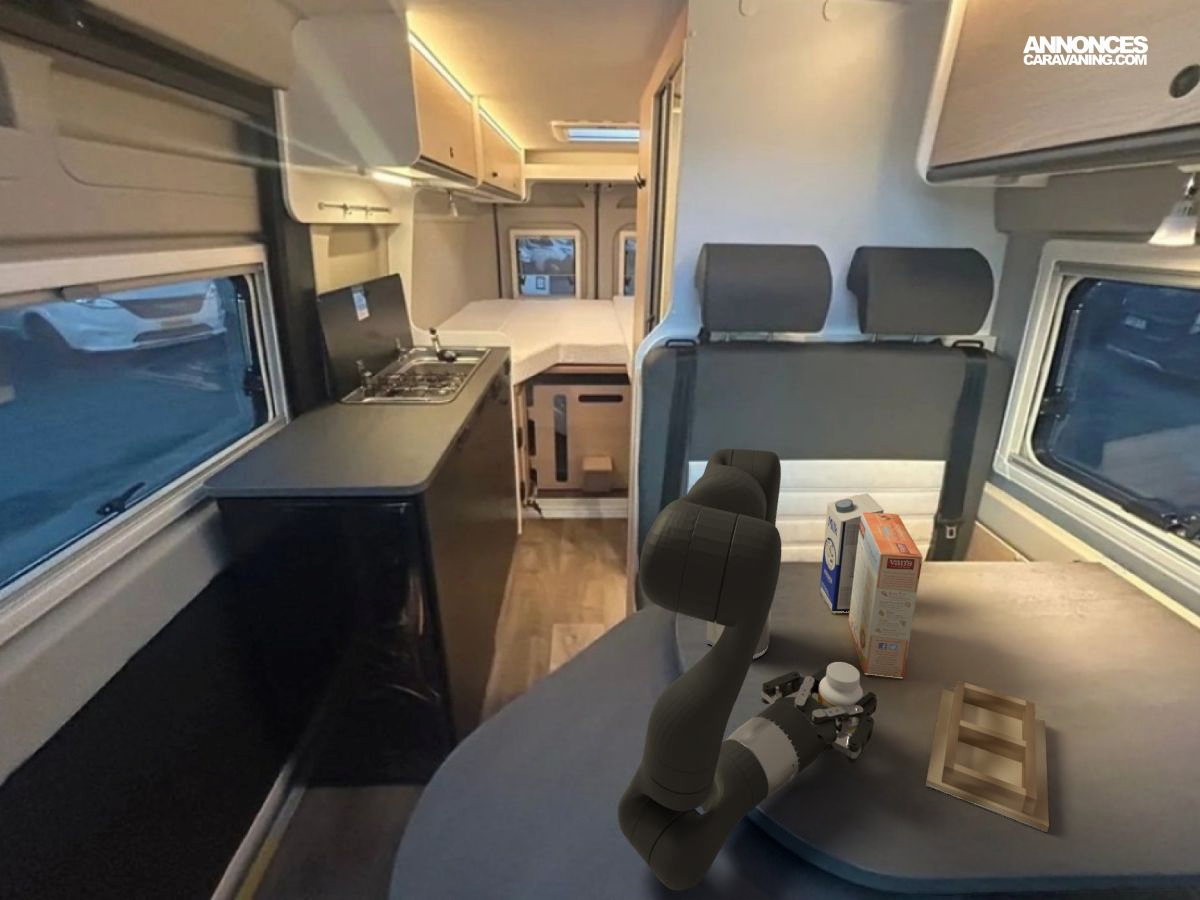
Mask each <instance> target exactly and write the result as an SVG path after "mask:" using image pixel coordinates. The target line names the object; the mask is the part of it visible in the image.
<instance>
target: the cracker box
mask: <svg viewBox="0 0 1200 900" xmlns="http://www.w3.org/2000/svg"><path fill="white" fill-rule="evenodd" d="M923 559H924V558H923V555H922V553H921V551H920V550H919V547H918V546H917V544H916V543H915V542H914V539H913V538H912V536H911V534H910V533H909V531H908V529H907V528H906V526H905V524H904V522H903V521H902V519H901V517H900V515H899V514H896V513H886V512H885V513H884V512H883V513H861V518H860V526H859V535H858V545H857V553H856V561H855V570H854V579H853V587H852V595H851V603H850V612H849V614H848V620H847V621H849V623H848V625H849V624H850V626H849V629H850V628H851V630H850V633H851V632H852V633H851V636H852V635H853V636H852V639H853V638H854V639H853V642H854V641H855V643H854V646H855V645H856V646H855V649H856V648H857V649H856V652H858V653H857V656H858V655H859V656H858V658H860V659H859V662H861V663H860V665H862V666H861V669H862V668H863V669H862V671H863V670H864V673H868V674H874V675H875V674H877V675H884V676H893V677H903V678H904V675H905V670H906V663H907V657H908V650H909V644H910V638H911V633H912V627H913V626H912V625H913V621H914V620H913V619H914V614H915V608H916V600H917V593H918V589H919V582H920V576H921V569H922V566H923V565H922V563H923ZM864 673H863V674H864Z"/></svg>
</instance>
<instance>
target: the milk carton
mask: <svg viewBox="0 0 1200 900" xmlns="http://www.w3.org/2000/svg"><path fill="white" fill-rule="evenodd" d="M884 510H885V509H884V508H883V507H882V506H881V505H880V504H879V503H878V502H877V501H876V500H875V499H874V498H873V497H872V496H871V495H870V494H869V493H862V494H855V495H852V496H849V497H845V498H842V499H838V500H835V501H832V502H831V501H830V502H828V503H827V507H826V520H825V529H824V540H823V541H824V542H823V551H822V553H823V554H822V561H821V562H822V564H821V573H820V574H821V575H820V585H819V591H820V590H821V592H822V594H823V596H824V597H825V599H826V601H827V603H828V604H829V606H830V608H831V609H832V611H844V612H846V611H847V612H848V611H849V612H850V603H851V595H852V587H853V579H854V570H855V561H856V553H857V545H858V535H859V526H860V518H861V513H884Z"/></svg>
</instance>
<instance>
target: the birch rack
mask: <svg viewBox="0 0 1200 900" xmlns="http://www.w3.org/2000/svg"><path fill="white" fill-rule="evenodd" d="M936 723H937V724H936V725H935V730H934V736H933V741H932V748H931V751H930V753H931V754H930V759H929V765H928V768H927V769H928V770H927V776H926V781H925V785H926V784H928V785H931V786H933V787H936V788H938V789H940V790H942V791H944V792H947V793H950V794H952V795H955V796H958V797H960V798H962V799H964V800H967V801H970V802H973V803H976V804H979V805H982V806H984V807H987V808H990V809H992V810H995V811H998V812H1000V813H1002V814H1004V815H1008V816H1010V817H1012V818H1014V819H1018V820H1020V821H1022V822H1025V823H1028V824H1030V825H1032V826H1035V827H1037V828H1039V829H1042V830H1044V831H1046V832H1047V833H1048V831H1049V828H1050V823H1049V819H1050V818H1049V799H1048V798H1049V796H1048V795H1049V794H1048V768H1047V764H1048V763H1047V744H1046V742H1047V741H1046V739H1047V738H1046V720H1044V719H1041V718H1038V717H1036V704H1035V703H1034V702H1031V701H1027V700H1025V699H1022V698H1017V697H1014V696H1010V695H1007V694H1004V693H1000V692H997V691H995V690H991V689H987V688H984V687H981V686H977V685H974V684H970V683H967V682H965V681H964V682H963V681H961V680H956V683H955V688H954V691H950V690H947V689H944V688H942V690H941V697H940V701H939V707H938V713H937V719H936Z"/></svg>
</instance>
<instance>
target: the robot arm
mask: <svg viewBox="0 0 1200 900" xmlns="http://www.w3.org/2000/svg"><path fill="white" fill-rule="evenodd" d="M777 454H778V453H776V452H773V451H771V450H758V449H756V450H755V449H739V448H722V449H717V450H716V451H714V452H713V453H712V454H711V455H710V456H709V458H708V461H707V462H706V466H705V468H704V472H703V473H702V475H701V477H699V478H698V479H697V480H696V481H695V483H694V484H693V485H692V487H691V488H689V491H688V492H687V494H685V495H684V496H681V497H680V498H677V499H676V500H673V501H671V502H670V503H668V504H667V505H666V506H665V507H664V508H663V509H662V510H661V511H660V513H659V514H658V515H657V517H656V518H655V520H654V521H653V523H652V525H651V526H650V528H649V531H648V533H647V535H646V538H645V540H644V543H643V545H642V551H641V554H640V559H639V578H640V584H641V585H640V586H641V588H642V591H643V593H644V594H645V596H646V597H647V598H648V600H649V601H650V602H652V603H653V604H655V605H656V606H658V607H660V608H662V609H665V610H667V611H670V612H673V613H676V614H679V615H684V616H687V617H690V618H695V619H699V620H700V621H701V620H702V621H706V639H707V640H710V641H712V642H713V643H714V644H715V645H714V646H712V647H711V649H710V650H709V651H708V652H707V653H706V654H705V655H704V656H702V657H701V659H700V660H698V661H697V662H696V663H695V664H694V665H693V666H691V668H689V669H688V670H687V671H685V672H684V673H683V674H681V675H680V676H679V677H677V678H676V679H675V680H674V681H673V682H672V683H670V685H669V686H667V688H666V689H664V691H663V692H662V693H661V695H660V696H659V697H658V698H657V701H656V702H655V704H654V705H653V708H652V711H651V712H650V715H649V719H648V724H647V728H646V733H645V735H646V736H645V742H644V748H643V753H642V760H641V762H640V764H639V766H638V768H637V770H636V772H635V774H634V776H633V777H632V780H631V781H630V783H629V785H628V787H626V789H625V791H624V792H623V794H622V796H621V797H620V799H619V802H618V806H617V820H618V825H619V828H620V830H621V832H622V834H623V836H624V837H625V838H626V840H627V841H628V843H630V845H631V846H632V848H633V849H634V850H635V851H636V852H637V854H638V855H639V856H640V858H642V860H643V861H644V863H645V864H646V865H647V866H648V868H649V869H650V870H651V871H652V872H653V874H654V875H655V877H656V878H657V879H658V880H659V881H660V882H661V884H662V885H664V886H665V887H666V888H668V889H669V890H673V891H681V892H682V891H685V890H690V889H692V888H694V887H695V886H697V885H698V884H699V883H701V882H702V880H703V879H704V878H705V876H706V875H707V873H708V872H709V871H710V869H711V867H712V865H713V863H714V861H715V859H716V858H717V856H718V854H719V853H720V851H721V849H722V847H723V846H724V844H725V842H726V841H727V840H728V838H729V836H730V835H731V833H732V832H733V831H734V830H735V828H736V827H737V825H738V824H739V823H740V822H741V821H742V820H743V819H744V817H745V816H747V815H748V814H749V813H751V812H752V811H753V810H754V809H755V808H756V807H757V806H759V805H760V804H761V803H762V802H764V801H765V800H766V799H767V798H768V797H771V796H772V795H774V794H776V793H777V792H779V791H780V790H781V789H783V788H784V787H786V785H788V784H789V783H792V781H794V779H795V778H796V777H797V776H799V775H800V774H801V773H802V772H803V771H805V770H806V769H807V768H808V767H809V766H810V765H811V764H813V762H815V761H816V760H817V759H818V757H820V756H821V755H822V753H824V752H826V751H832V750H833V749H835V750H837V751H839V752H841V753H843V754H845V755H846V756H845V759H846V761H847V762H848V763H850V764H857V763H858V761H859V759H860V757H861V756H862V754H863V753H864V752H865V749H866V748H867V746H868V744H869V743H870V741H871V740H872V738H873V737H872V736H873V732H874V731H873V730H874V725H875V720H874V718H873V717H872V715H873V714H875V713H876V710H877V706H878V699H877V694H876V693H874V692H873V691H869V692H867V693H866V694H865V695H863V698H861V699H860V700H859V701H858V702H856V703H855V705H854V706H850V707H846V708H843V707H842V706H837V707H833V708H828V707H826V706H824V705H822V704H820V703H819V702H818V699H815V698H814V697H813V696H814V694H816V695H818V691H819V684H820V681H821V680H822V679H823V678H824V677H826V671H827V668H826V669H825V668H821V669H819V670H818V671H817V672H815V673H814V674H812V675H810V676H809V675H807V676H805V677H804V676H802V675H801V674H800V672H799V671H796V670H793V671H790V672H788V673H785V674H783V675H780V676H778V677H775V678H773V679H771V680H768V681H765V682H764V683H762V685H761V686H762V689H761V702H762V703H763V704H765V705H769V706H767V707H766V708H764V709H763V710H761V711H760V712H758V713H757V714H756V715H754V716H753V717H752V718H750V719H749V720H748V721H746V722H745V723H743V724H742V725H741V726H739V727H737V728H736V729H735V730H734V731H733V732H732V733H731V734H730V735H729V736H728V737H727V738H726V739H725V740H724V735H725V732H726V728H727V725H728V722H729V721H730V717H731V714H732V712H733V709H734V706H735V704H736V701H737V700H738V697H739V694H740V693H741V691H742V687H743V685H744V682H745V679H746V678H747V675H748V672H749V670H750V667H751V664H752V661H753V660H754V659H753V656H754V655H755V654H757V653H760V652H762V651H763V650H765V649H766V648H767V646H768V644H769V645H770V639H771V638H770V637H771V635H770V633H771V631H770V630H771V616H772V604H773V601H774V598H775V594H776V590H777V586H778V581H779V575H780V568H781V561H782V538H781V536H780V535H781V533H780V531H779V529H778V527H776V523H777V514H778V513H777V511H778V505H779V497H780V490H781V480H782V478H781V477H782V467H781V465H782V464H781V461H780V458H779V456H778V455H777ZM752 659H753V660H752ZM795 693H797V695H796V696H790V695H792V694H795ZM851 717H852V718H851ZM849 718H851V719H849ZM852 729H856V730H855V731H854V733H853V735H852V734H850V733H849V734H848V736H845V737H844V738H838V737H837V736H840V735H844V734H845V733H846V732H847V731H848V730H852ZM723 740H724V741H723ZM700 807H701V809H702V811H703V812H704V813H700V812H699V811H698V810H697V808H700Z"/></svg>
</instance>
